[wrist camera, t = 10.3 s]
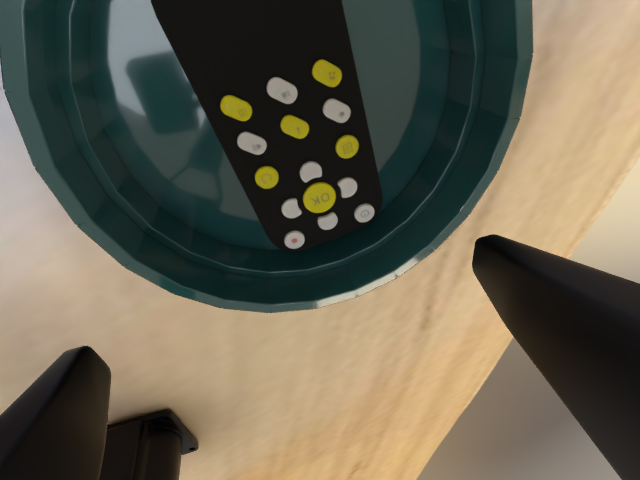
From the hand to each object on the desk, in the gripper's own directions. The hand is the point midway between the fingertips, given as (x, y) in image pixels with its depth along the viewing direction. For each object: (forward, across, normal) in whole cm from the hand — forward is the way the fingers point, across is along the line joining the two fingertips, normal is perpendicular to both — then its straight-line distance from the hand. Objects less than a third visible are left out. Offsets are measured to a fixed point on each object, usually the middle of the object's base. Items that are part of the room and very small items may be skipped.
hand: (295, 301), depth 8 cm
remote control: (+10, -2, -1) cm, 10 cm away
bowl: (+11, -2, -2) cm, 11 cm away
